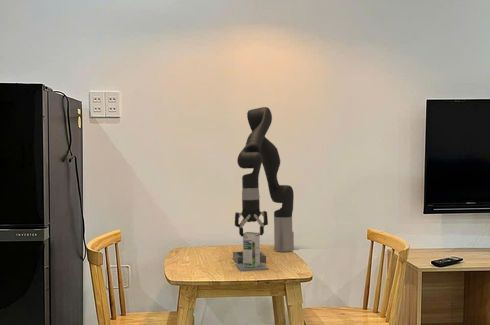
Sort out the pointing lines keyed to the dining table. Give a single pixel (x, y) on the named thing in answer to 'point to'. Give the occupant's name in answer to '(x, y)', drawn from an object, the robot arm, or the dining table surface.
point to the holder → (239, 257)
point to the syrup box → (251, 249)
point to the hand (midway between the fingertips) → (251, 235)
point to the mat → (260, 267)
